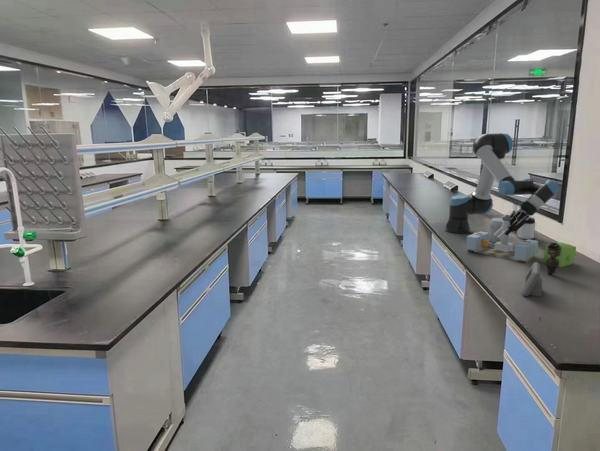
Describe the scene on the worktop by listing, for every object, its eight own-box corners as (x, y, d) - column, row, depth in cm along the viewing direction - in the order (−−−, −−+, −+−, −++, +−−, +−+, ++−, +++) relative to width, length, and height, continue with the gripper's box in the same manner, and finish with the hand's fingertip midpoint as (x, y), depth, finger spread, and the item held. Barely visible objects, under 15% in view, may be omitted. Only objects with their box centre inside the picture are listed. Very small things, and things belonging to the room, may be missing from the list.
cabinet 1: (466, 248, 221) (467, 234, 220) (479, 243, 232) (480, 229, 230) (475, 250, 218) (476, 236, 216) (488, 244, 228) (489, 231, 227)
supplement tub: (497, 241, 240) (499, 217, 237) (510, 245, 232) (513, 220, 228) (484, 243, 237) (486, 218, 234) (497, 247, 228) (499, 221, 225)
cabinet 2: (514, 258, 203) (515, 243, 201) (526, 252, 214) (528, 237, 212) (524, 260, 200) (526, 245, 198) (536, 254, 210) (538, 239, 209)
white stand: (494, 249, 215) (497, 214, 211) (498, 247, 219) (502, 213, 215) (507, 252, 210) (511, 216, 206) (512, 250, 214) (516, 214, 210)
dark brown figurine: (545, 271, 189) (549, 240, 185) (558, 274, 185) (563, 242, 182) (542, 274, 184) (546, 243, 181) (556, 277, 181) (561, 245, 178)
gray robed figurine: (523, 283, 175) (526, 259, 172) (547, 288, 169) (550, 264, 167) (513, 294, 163) (515, 269, 161) (538, 300, 157) (541, 274, 155)
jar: (527, 239, 243) (530, 220, 241) (514, 237, 250) (516, 218, 247) (535, 237, 248) (538, 218, 245) (522, 235, 255) (524, 216, 252)
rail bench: (467, 250, 223) (468, 246, 223) (477, 246, 231) (478, 242, 230) (526, 262, 201) (526, 258, 201) (535, 257, 209) (535, 253, 209)
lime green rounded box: (557, 270, 191) (560, 251, 188) (537, 264, 199) (540, 245, 197) (580, 264, 199) (583, 246, 196) (560, 258, 207) (563, 240, 204)
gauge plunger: (475, 244, 224) (475, 239, 223) (477, 243, 226) (478, 238, 225) (486, 246, 220) (486, 241, 219) (488, 245, 222) (489, 240, 221)
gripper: (546, 213, 203) (511, 246, 206) (526, 207, 219) (493, 238, 222) (537, 203, 201) (501, 236, 204) (517, 198, 217) (485, 229, 220)
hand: (497, 237), depth 213 cm, fingers closed on white stand, 4 cm apart
